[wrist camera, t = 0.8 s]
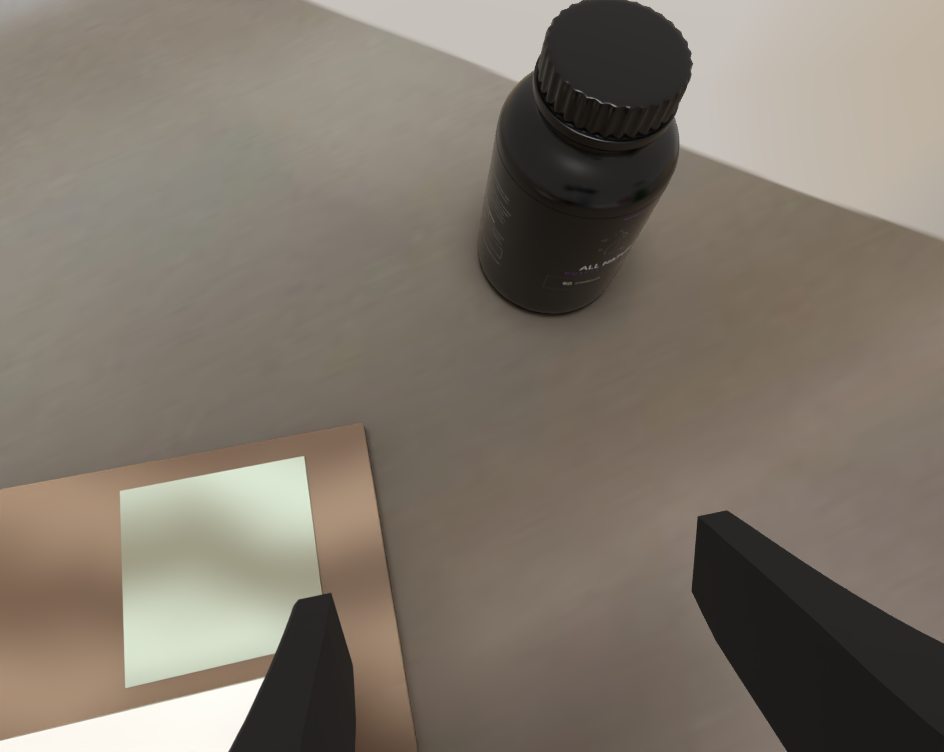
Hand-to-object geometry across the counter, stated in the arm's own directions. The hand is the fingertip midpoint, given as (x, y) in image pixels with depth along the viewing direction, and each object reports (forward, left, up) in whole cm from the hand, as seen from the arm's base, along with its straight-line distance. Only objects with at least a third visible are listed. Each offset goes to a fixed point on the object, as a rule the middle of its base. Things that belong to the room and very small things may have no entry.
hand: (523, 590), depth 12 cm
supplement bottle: (+15, -7, -14) cm, 21 cm away
